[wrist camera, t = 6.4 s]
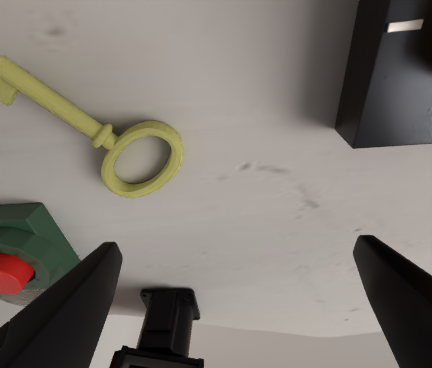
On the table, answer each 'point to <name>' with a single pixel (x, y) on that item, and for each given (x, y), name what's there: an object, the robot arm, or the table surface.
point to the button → (13, 274)
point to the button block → (36, 243)
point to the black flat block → (388, 76)
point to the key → (94, 129)
